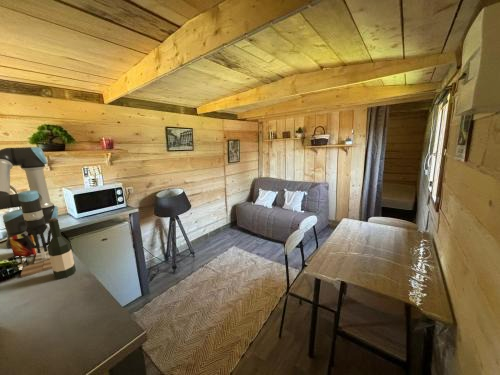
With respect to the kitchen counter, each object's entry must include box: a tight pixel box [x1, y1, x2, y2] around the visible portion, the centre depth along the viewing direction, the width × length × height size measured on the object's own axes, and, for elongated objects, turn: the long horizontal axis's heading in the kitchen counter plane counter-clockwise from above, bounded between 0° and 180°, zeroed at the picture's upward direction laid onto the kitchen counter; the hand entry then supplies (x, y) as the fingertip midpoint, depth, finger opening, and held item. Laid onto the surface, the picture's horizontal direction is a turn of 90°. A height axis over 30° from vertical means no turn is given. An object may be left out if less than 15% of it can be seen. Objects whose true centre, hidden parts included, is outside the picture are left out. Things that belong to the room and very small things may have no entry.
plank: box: [33, 248, 50, 264], centre depth 126 cm, size 18×8×2 cm, turn 41°
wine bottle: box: [46, 218, 77, 280], centre depth 105 cm, size 8×8×30 cm
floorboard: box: [20, 260, 53, 278], centre depth 115 cm, size 11×16×2 cm
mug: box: [9, 233, 37, 258], centre depth 129 cm, size 10×14×12 cm
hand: (44, 257), depth 121 cm, fingers closed
